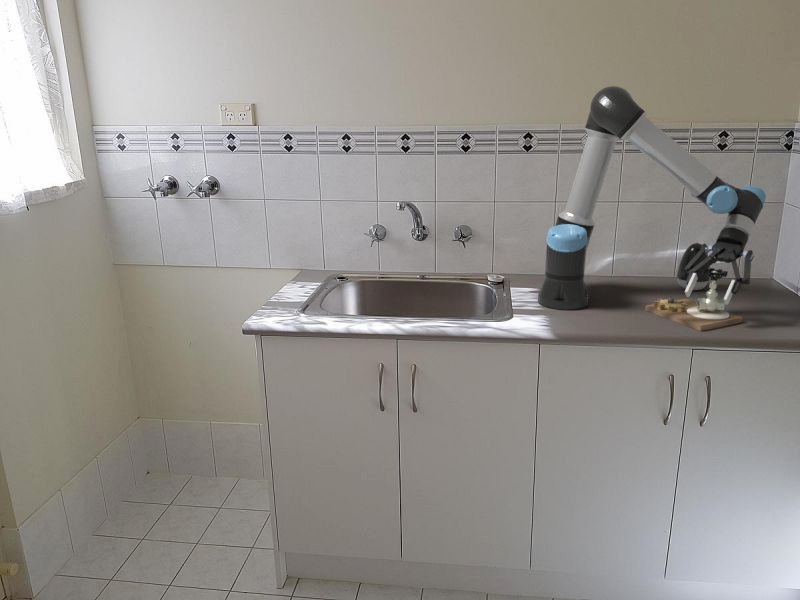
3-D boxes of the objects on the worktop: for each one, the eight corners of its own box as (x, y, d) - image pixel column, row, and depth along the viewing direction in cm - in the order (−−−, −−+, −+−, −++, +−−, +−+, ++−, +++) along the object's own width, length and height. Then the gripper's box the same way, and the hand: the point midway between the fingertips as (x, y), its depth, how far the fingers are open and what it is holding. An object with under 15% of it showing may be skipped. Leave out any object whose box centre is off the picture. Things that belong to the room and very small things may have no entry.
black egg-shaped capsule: (708, 285, 214) (714, 241, 209) (708, 294, 205) (714, 247, 200) (675, 282, 218) (681, 238, 214) (674, 290, 209) (679, 245, 205)
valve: (725, 315, 179) (731, 274, 175) (700, 314, 180) (705, 273, 176) (718, 308, 185) (724, 268, 181) (694, 307, 186) (699, 267, 182)
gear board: (645, 310, 190) (646, 296, 189) (684, 303, 196) (686, 290, 195) (700, 331, 172) (702, 316, 171) (741, 322, 179) (744, 308, 177)
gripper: (779, 247, 179) (751, 313, 173) (697, 236, 194) (669, 297, 188) (776, 231, 173) (747, 299, 168) (692, 221, 189) (663, 283, 183)
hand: (705, 298), depth 178 cm, fingers open, 10 cm apart
